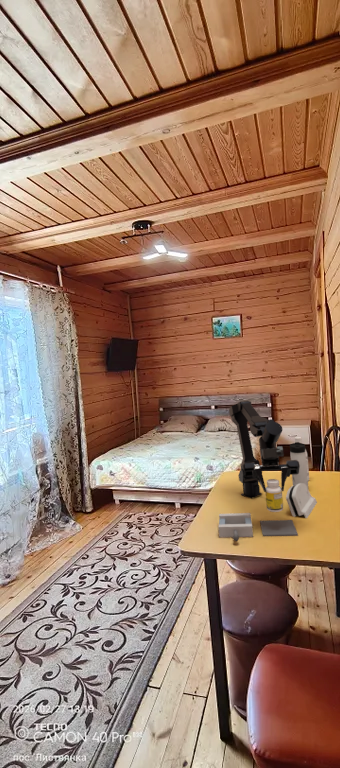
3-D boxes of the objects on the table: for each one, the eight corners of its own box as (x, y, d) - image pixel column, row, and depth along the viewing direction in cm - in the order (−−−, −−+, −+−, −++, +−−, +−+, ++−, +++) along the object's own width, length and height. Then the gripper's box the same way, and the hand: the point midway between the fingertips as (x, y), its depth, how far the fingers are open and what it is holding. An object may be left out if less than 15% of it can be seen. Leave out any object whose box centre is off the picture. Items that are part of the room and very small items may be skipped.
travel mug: (308, 487, 164) (304, 441, 163) (308, 492, 157) (305, 445, 157) (293, 486, 166) (289, 442, 165) (292, 491, 160) (289, 445, 159)
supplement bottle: (263, 507, 129) (261, 479, 128) (278, 505, 130) (276, 477, 129) (271, 513, 123) (269, 484, 123) (286, 510, 124) (284, 481, 124)
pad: (260, 522, 133) (260, 520, 133) (292, 521, 131) (292, 519, 131) (262, 536, 122) (262, 534, 122) (297, 535, 120) (297, 534, 120)
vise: (220, 523, 135) (219, 513, 135) (251, 522, 133) (250, 512, 133) (218, 545, 119) (217, 534, 119) (254, 544, 117) (253, 533, 117)
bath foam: (290, 480, 175) (287, 438, 174) (299, 476, 179) (296, 435, 178) (303, 483, 169) (299, 439, 168) (312, 479, 173) (309, 436, 172)
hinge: (306, 518, 132) (294, 491, 134) (294, 521, 135) (282, 494, 136) (317, 502, 146) (306, 477, 148) (305, 504, 149) (295, 480, 150)
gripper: (241, 439, 131) (244, 480, 120) (296, 436, 128) (305, 478, 117) (242, 456, 139) (245, 496, 129) (294, 453, 136) (302, 494, 126)
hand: (273, 491), depth 125 cm, fingers closed on supplement bottle, 5 cm apart
